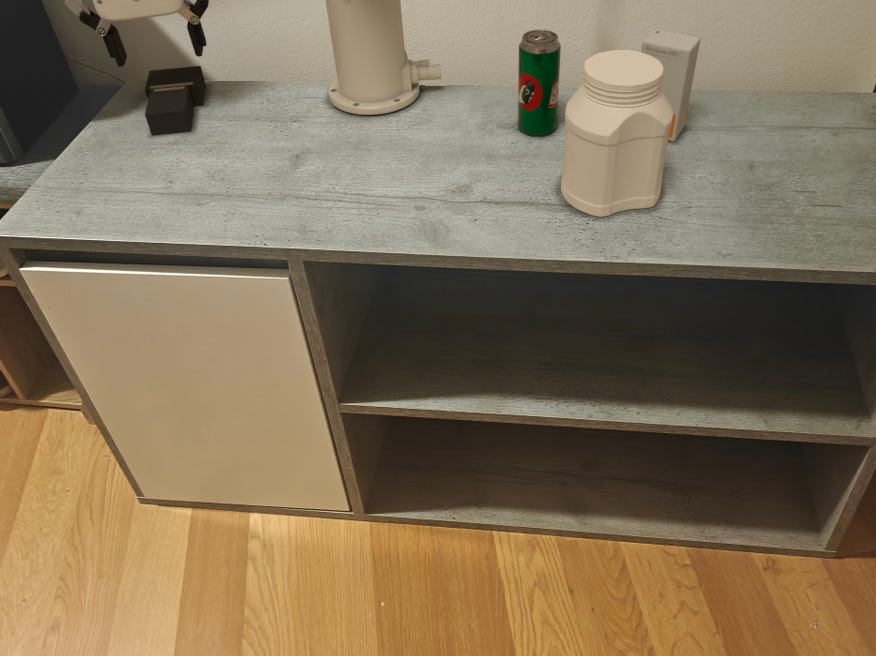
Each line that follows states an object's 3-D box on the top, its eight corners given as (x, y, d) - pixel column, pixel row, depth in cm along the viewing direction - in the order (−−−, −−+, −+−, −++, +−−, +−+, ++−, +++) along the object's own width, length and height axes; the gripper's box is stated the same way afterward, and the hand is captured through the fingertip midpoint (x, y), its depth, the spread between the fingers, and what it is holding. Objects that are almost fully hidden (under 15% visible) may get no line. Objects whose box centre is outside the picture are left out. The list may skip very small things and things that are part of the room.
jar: (638, 161, 98) (654, 40, 88) (673, 203, 92) (695, 78, 81) (549, 177, 96) (555, 55, 86) (579, 222, 90) (589, 96, 79)
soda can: (557, 137, 103) (562, 45, 94) (517, 138, 103) (519, 46, 95) (555, 118, 106) (560, 27, 98) (517, 118, 107) (518, 28, 98)
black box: (194, 106, 111) (188, 85, 109) (190, 131, 106) (184, 109, 104) (157, 110, 110) (150, 88, 108) (151, 135, 105) (144, 113, 103)
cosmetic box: (629, 133, 103) (640, 41, 95) (640, 118, 106) (652, 27, 98) (675, 143, 101) (690, 50, 93) (685, 128, 104) (701, 36, 95)
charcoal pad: (206, 85, 115) (200, 64, 113) (203, 105, 111) (197, 84, 109) (155, 90, 114) (149, 69, 112) (151, 110, 110) (144, 89, 108)
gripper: (23, -72, 87) (87, 79, 99) (186, -90, 88) (229, 61, 100) (38, -93, 92) (96, 53, 104) (191, -110, 93) (231, 36, 106)
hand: (161, 57), depth 102 cm, fingers open, 9 cm apart
